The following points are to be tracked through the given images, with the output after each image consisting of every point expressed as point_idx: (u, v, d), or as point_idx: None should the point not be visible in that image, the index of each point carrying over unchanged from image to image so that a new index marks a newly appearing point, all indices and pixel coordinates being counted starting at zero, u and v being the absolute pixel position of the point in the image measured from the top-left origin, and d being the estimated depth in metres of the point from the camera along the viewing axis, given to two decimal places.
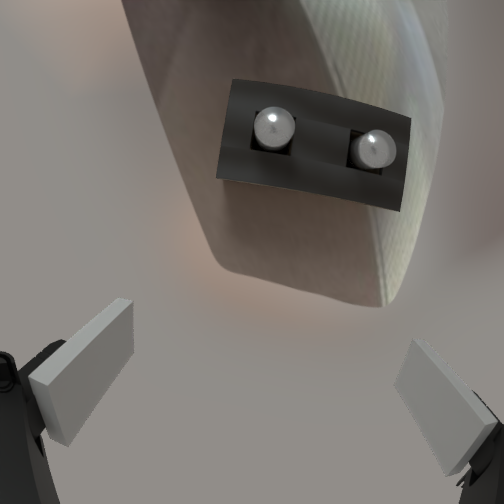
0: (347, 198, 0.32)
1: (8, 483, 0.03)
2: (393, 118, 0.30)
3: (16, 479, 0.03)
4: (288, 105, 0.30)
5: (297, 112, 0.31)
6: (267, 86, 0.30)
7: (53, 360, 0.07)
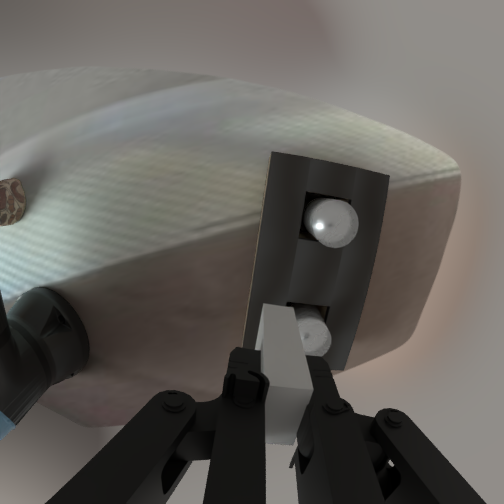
0: (376, 243, 0.28)
1: (232, 498, 0.04)
2: (277, 178, 0.27)
3: (245, 496, 0.04)
4: None
5: (280, 300, 0.30)
6: (249, 329, 0.30)
7: (271, 365, 0.09)
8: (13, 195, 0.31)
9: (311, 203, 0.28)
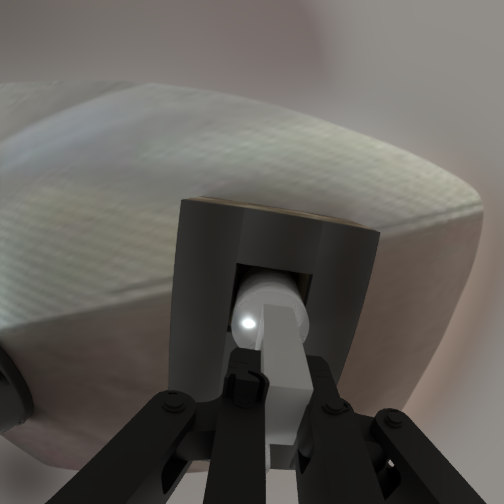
0: (351, 336, 0.18)
1: (232, 498, 0.04)
2: (190, 243, 0.17)
3: (245, 496, 0.04)
4: None
5: None
6: None
7: (271, 365, 0.09)
8: None
9: (246, 277, 0.19)
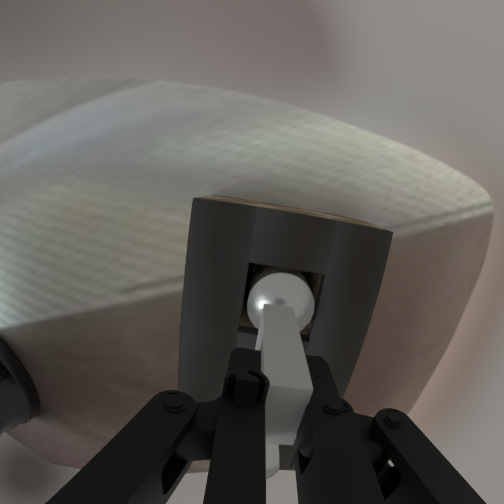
0: (362, 336, 0.18)
1: (232, 498, 0.04)
2: (201, 242, 0.17)
3: (245, 496, 0.04)
4: None
5: None
6: None
7: (271, 365, 0.09)
8: None
9: (259, 265, 0.21)
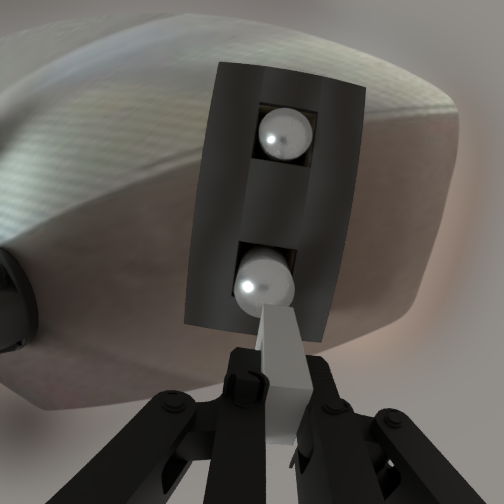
0: (355, 167, 0.22)
1: (232, 498, 0.04)
2: (224, 89, 0.21)
3: (245, 496, 0.04)
4: (220, 251, 0.23)
5: (230, 239, 0.23)
6: (192, 280, 0.24)
7: (271, 365, 0.09)
8: None
9: None
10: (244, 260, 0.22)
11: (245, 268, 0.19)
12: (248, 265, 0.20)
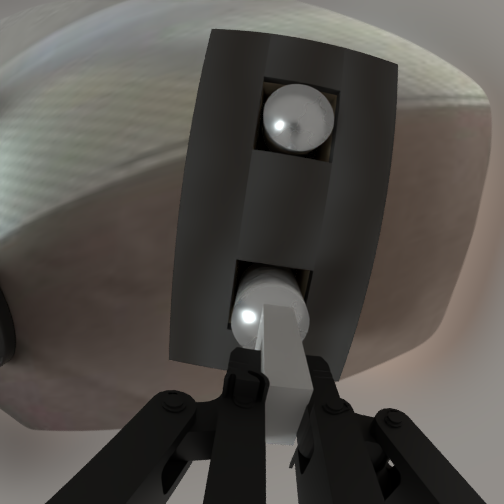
0: (388, 163, 0.16)
1: (232, 498, 0.04)
2: (217, 61, 0.15)
3: (245, 496, 0.04)
4: (212, 273, 0.18)
5: (226, 257, 0.17)
6: (178, 308, 0.18)
7: (271, 365, 0.09)
8: None
9: None
10: (244, 281, 0.17)
11: (245, 295, 0.15)
12: (249, 291, 0.15)
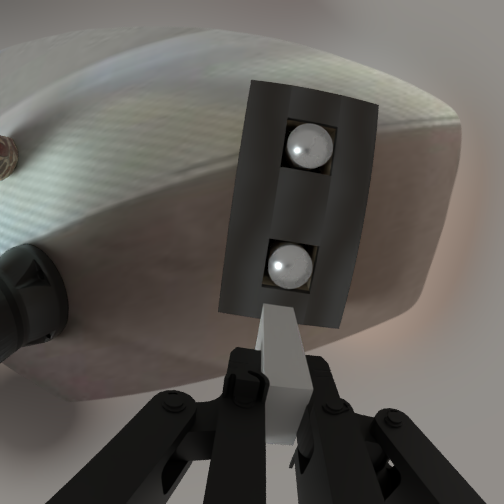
0: (369, 175, 0.25)
1: (232, 498, 0.04)
2: (256, 105, 0.24)
3: (245, 496, 0.04)
4: (253, 247, 0.27)
5: (262, 236, 0.27)
6: (227, 272, 0.27)
7: (271, 365, 0.09)
8: (12, 147, 0.30)
9: None
10: (274, 246, 0.29)
11: (276, 251, 0.27)
12: (279, 248, 0.27)
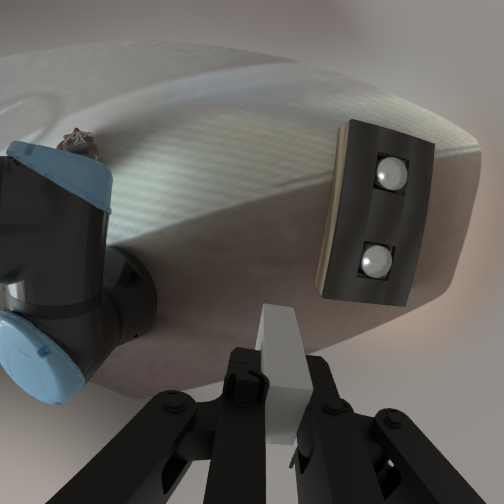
0: (428, 195, 0.33)
1: (232, 498, 0.04)
2: (356, 140, 0.32)
3: (245, 496, 0.04)
4: (352, 247, 0.34)
5: (359, 239, 0.34)
6: (333, 267, 0.35)
7: (271, 365, 0.09)
8: None
9: None
10: None
11: (369, 250, 0.34)
12: (370, 248, 0.34)
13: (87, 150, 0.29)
